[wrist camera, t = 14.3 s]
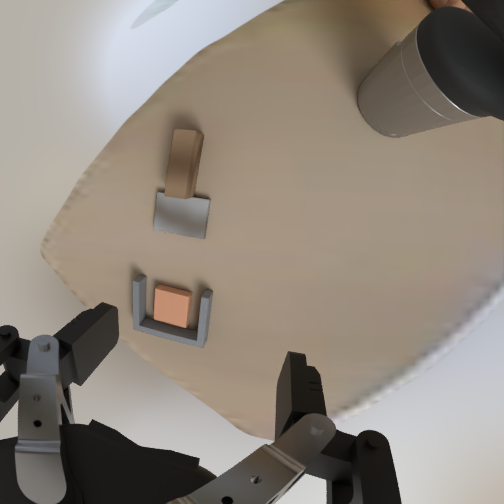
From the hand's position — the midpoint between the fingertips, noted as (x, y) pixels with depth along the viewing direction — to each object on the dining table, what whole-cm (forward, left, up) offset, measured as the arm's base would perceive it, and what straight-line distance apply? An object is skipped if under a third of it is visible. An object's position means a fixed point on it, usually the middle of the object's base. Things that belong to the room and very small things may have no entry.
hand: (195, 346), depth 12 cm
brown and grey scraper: (-5, -9, -25) cm, 27 cm away
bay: (+12, -9, -25) cm, 29 cm away
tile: (+12, -9, -25) cm, 29 cm away
